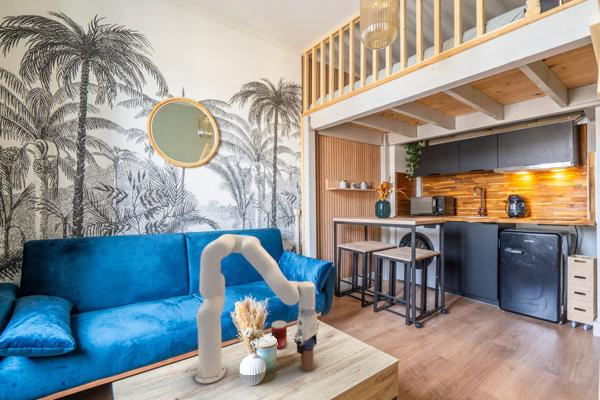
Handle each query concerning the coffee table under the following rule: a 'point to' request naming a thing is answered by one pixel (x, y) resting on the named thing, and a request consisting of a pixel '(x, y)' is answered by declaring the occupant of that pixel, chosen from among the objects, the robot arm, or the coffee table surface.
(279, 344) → the canned food
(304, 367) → the jar
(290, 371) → the coffee table surface
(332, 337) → the coffee table surface
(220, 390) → the coffee table surface
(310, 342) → the lid
